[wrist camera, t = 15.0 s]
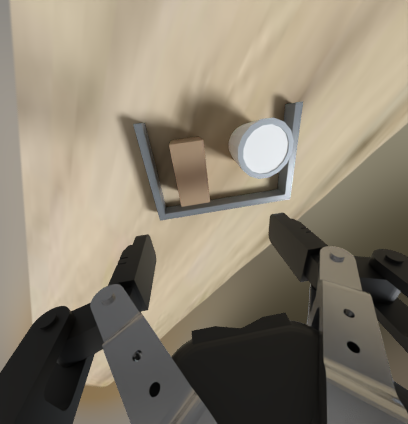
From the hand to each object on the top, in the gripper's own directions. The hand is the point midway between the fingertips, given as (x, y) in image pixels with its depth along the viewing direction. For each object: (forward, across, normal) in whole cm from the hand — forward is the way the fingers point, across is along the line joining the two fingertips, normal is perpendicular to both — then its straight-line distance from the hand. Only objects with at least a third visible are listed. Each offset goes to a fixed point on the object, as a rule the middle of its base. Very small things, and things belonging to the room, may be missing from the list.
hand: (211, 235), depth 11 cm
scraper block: (+18, +1, 0) cm, 18 cm away
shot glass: (+18, -9, -2) cm, 20 cm away
